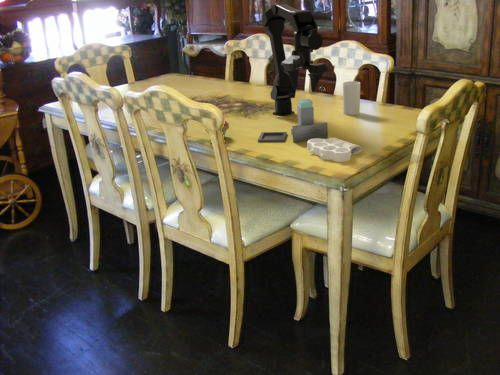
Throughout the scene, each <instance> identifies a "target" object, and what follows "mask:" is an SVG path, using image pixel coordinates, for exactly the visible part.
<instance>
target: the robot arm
mask: <svg viewBox="0 0 500 375" xmlns="http://www.w3.org/2000/svg"><path fill="white" fill-rule="evenodd" d="M286 21H289V26H291V27H292V31H291V33H292V34H293V39H294V40H293V42H294V44H293V45H294V49H293V50H292V51H291V55H290V56H289V57H287V58H286V52H285V46H284V41H283V33H284V30H285V27H286V26H285V23H286ZM261 26H262V28H263V31H264V33H265V35H267V37H269V40H270V41H269V42H270V46H271V53H272V60H273V64H274V65H273V66H274V69H275V70H274V71H275V76H274V79H273V82H272V84H273V87H272V89H271V91H270V94H269V96H270V98H271V100H273V101H274V111H273V112H272V114H273V115H277V116H282V117H285V116H288V115H292V114H294V113H295V111H294V110H293V102H292V99H295V98H296V94H297V93H296V91H297V88H298V87H297V86H298V81H299V72H300V70H305V71H307V72H308V73H307V75H308V77H309V79H310V90H311V92H312V93H314V92H315V91H316V89H317V86H318V84H319V83H320V80H321V78H322V77H323V75H325V73H326V72H328V66H327V64H326V63H323V62H316V63H314V60H312V58H311V57H312V56H311V55H312V54H311V53H313V52H314V51H317V50H319V49H321V47H322V46H323V43H324V39H323V37H322V35H321V34H320V33H319V32H318V24H317V22H316V20H315V18H314V15H313V13H312V11H311V10H309V9H297V8H295V7H292V6H290V5H288V4H287V3H285V2H277V3H273V4H272V6H271V8H269V9H267V10H266V11H265V12H264V14H263V16H262V18H261Z"/></svg>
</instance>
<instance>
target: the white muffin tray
mask: <svg viewBox="0 0 500 375" xmlns="http://www.w3.org/2000/svg"><path fill="white" fill-rule="evenodd" d="M306 146H307V148H306V150H307V151H308V153H309V154H313V155H315V156H318V157H319V158H320V159H321V160H327V161H328V160H329V161H333V162H336V163H344V162H345V163H346V162H349V161H350V160H351V156H353V155H358V154H360V153H361V151H362V150H363V148H362V146H360V145H358V144H354V143H351V142H349V141H347V140H343V139H340V138H338V137H330V138H329V137H328V139H319V138H316V139H310V140H308V141H306Z"/></svg>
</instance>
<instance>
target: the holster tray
mask: <svg viewBox="0 0 500 375" xmlns="http://www.w3.org/2000/svg"><path fill="white" fill-rule="evenodd" d="M287 135H288V132H287V131H271V132H270V131H267V132H266V131H261V134H260V135H259V137H258V139H257V142H258V143H284V142H285V141H286V138H287Z"/></svg>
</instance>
